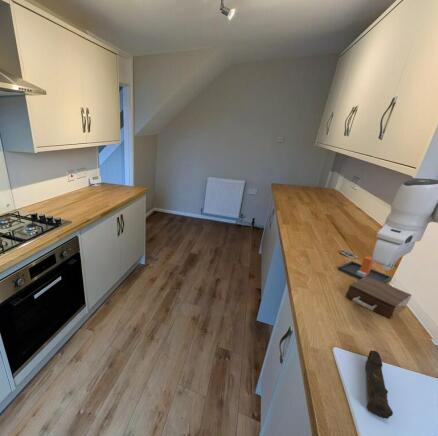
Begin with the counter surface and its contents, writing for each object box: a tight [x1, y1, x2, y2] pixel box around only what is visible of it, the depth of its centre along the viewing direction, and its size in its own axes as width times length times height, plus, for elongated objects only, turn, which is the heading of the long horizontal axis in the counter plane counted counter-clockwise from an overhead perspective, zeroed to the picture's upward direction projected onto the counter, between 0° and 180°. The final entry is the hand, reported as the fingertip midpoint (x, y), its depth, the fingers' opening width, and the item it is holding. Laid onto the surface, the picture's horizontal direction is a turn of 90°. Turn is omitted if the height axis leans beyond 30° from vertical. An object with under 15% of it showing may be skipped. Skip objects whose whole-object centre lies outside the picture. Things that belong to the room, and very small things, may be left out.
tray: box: [337, 260, 392, 284], centre depth 109 cm, size 15×12×2 cm
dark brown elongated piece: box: [365, 350, 394, 420], centre depth 61 cm, size 19×4×5 cm, turn 140°
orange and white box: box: [356, 255, 375, 277], centre depth 107 cm, size 3×6×8 cm, turn 117°
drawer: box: [346, 287, 393, 318], centre depth 90 cm, size 17×12×4 cm
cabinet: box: [345, 276, 412, 320], centre depth 91 cm, size 14×14×6 cm
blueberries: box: [340, 249, 359, 259], centre depth 126 cm, size 7×8×2 cm
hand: (386, 268), depth 79 cm, fingers closed
